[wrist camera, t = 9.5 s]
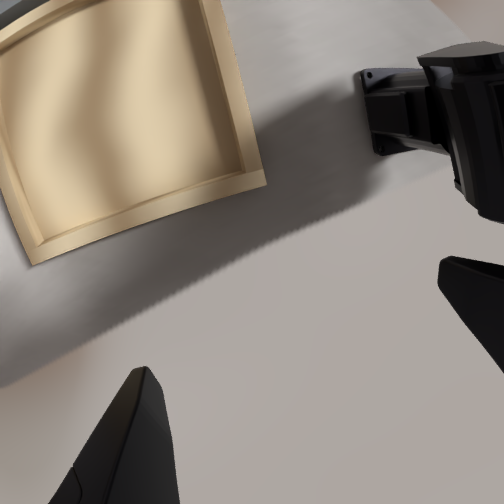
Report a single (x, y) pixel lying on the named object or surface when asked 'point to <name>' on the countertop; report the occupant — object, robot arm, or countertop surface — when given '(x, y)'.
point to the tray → (16, 10)
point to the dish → (119, 118)
